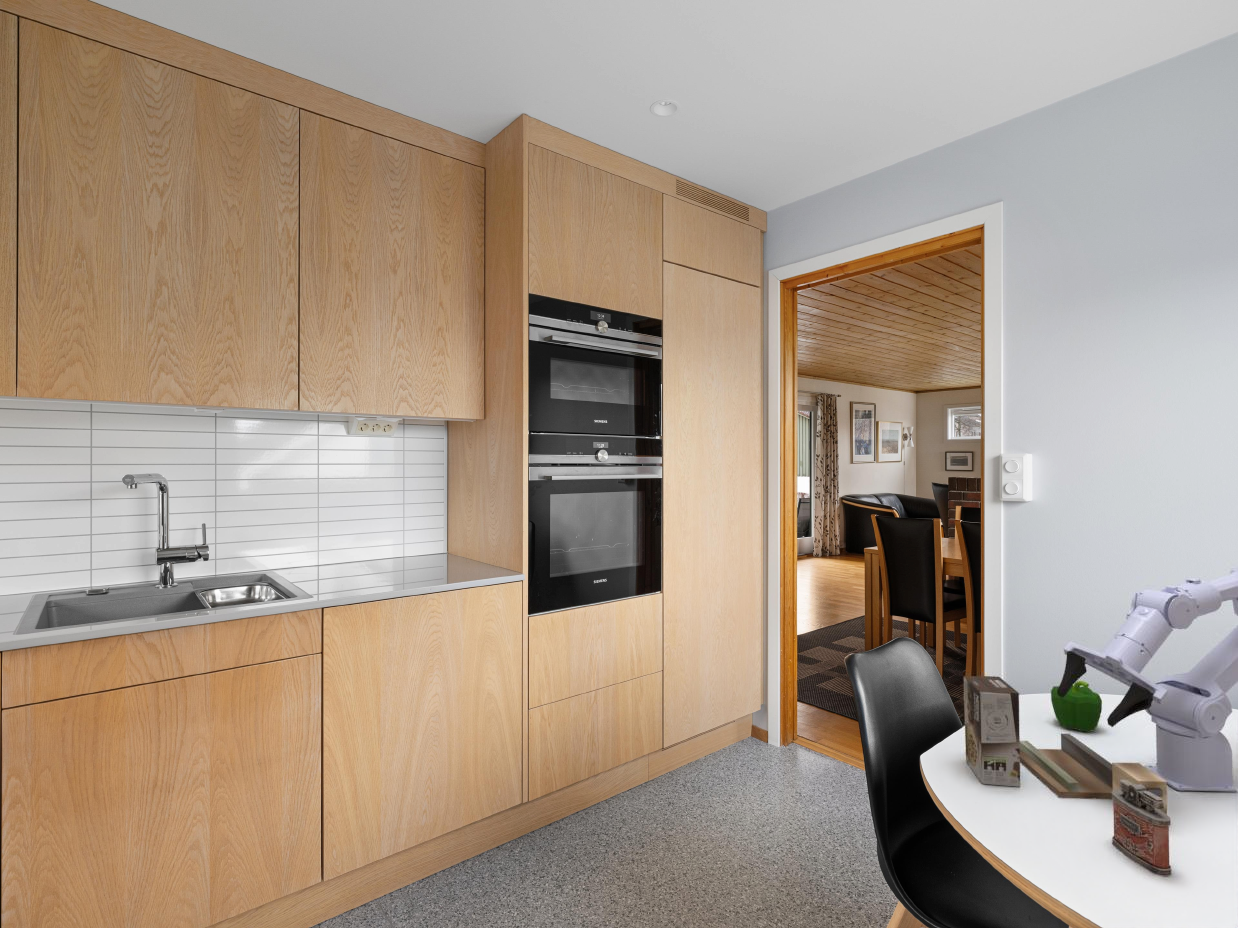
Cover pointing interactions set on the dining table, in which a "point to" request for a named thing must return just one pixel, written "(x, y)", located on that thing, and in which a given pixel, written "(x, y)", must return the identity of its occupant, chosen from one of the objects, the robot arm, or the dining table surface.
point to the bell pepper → (1077, 707)
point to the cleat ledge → (1070, 769)
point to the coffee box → (992, 730)
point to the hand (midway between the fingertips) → (1084, 708)
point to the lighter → (1141, 827)
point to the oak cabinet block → (1140, 779)
